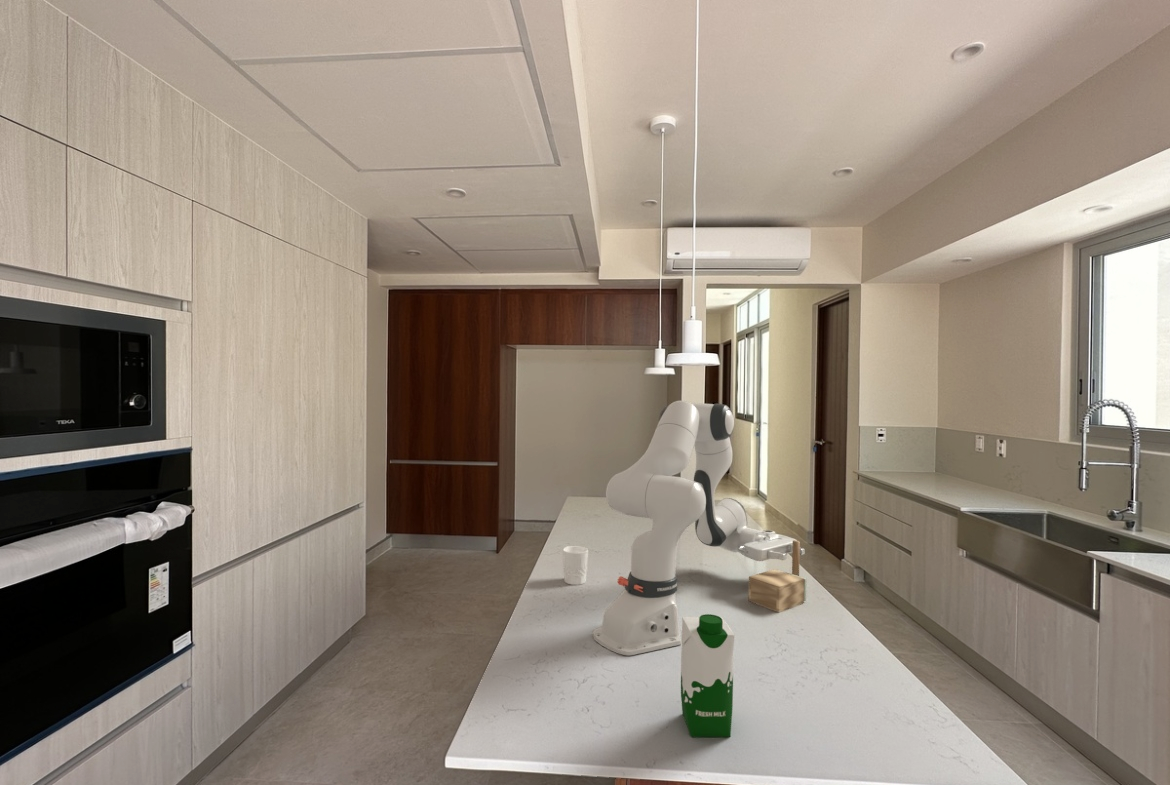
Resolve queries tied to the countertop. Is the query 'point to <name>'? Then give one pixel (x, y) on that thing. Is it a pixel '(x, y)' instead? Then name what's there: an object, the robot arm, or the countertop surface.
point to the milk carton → (707, 675)
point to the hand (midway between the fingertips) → (794, 554)
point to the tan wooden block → (776, 590)
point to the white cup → (575, 564)
